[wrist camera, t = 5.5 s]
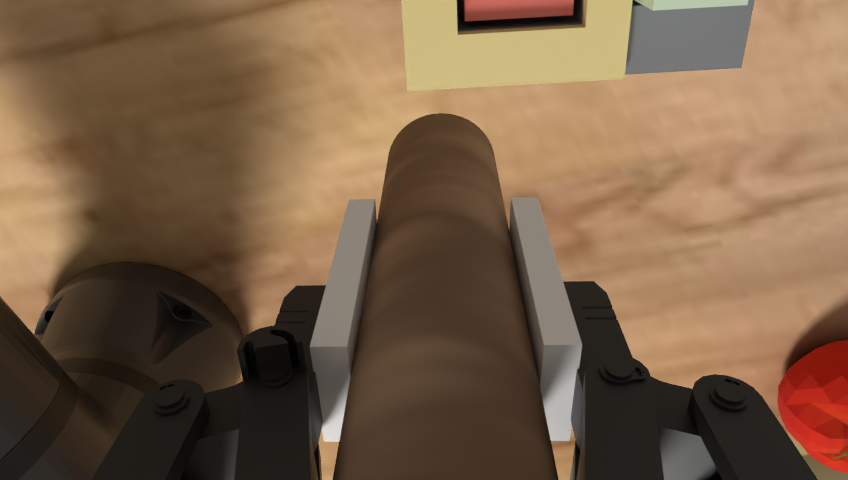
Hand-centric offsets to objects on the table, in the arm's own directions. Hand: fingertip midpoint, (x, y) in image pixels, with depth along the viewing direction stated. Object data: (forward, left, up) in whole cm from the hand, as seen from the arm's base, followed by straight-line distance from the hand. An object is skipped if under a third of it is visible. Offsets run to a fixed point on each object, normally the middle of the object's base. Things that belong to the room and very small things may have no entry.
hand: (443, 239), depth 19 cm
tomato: (+32, -28, -24) cm, 49 cm away
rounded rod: (0, 0, -6) cm, 6 cm away
